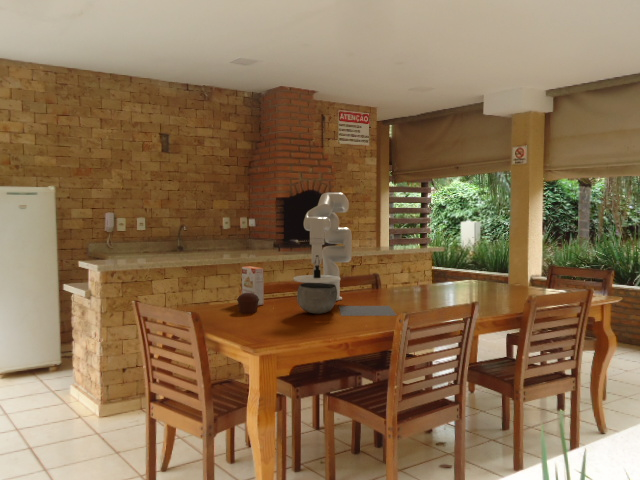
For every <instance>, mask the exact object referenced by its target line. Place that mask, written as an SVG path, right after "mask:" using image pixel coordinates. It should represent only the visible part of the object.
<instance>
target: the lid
mask: <svg viewBox="0 0 640 480" xmlns="http://www.w3.org/2000/svg"><path fill="white" fill-rule="evenodd" d="M312 269H313V271H312V273H313V274H307V275H305V274H303V275H296V276H294V277H293V281H294V282H298V283H330V282H338V281H341V277H338V276H331V275H323V274H322V268H321V267H320V278H314V270H315V268H314V267H313V268H312Z"/></svg>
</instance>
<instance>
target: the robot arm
mask: <svg viewBox="0 0 640 480" xmlns="http://www.w3.org/2000/svg"><path fill="white" fill-rule="evenodd" d="M349 208H350V201H349V200H348V198H347V196H346V195H345V194H344V193H343V192H324V193H322V194H321V196H320V198H319V200H318V203H317V205H316V206H314V207H313V208H311V209H309V210H307V212H306V214H305V215H304V219H303V228H304V230H305V231H307V232H309V245H310V246H311V264H312V265H313V264H314V267H313V268H315V270H314V278H320V268H321V264H322V267H323V274H322V275H331V276H338V277H340V276H341V275H340V273H341V272H340V268H339V266H338V265H337V263H349V262H350V261H352V256H353V243H352V242H353V235H352V231H351V229H350V228H349V227H341V226H340V218H339V216H338V215H337V213H339V214H340V213H347V212H348V211H349ZM325 243H327V244H332V245H328V246H324V247H323V245H325ZM333 244H335V245H333ZM336 244H337V245H336ZM338 244H339V245H338ZM341 245H342V246H341ZM340 278H341V277H340ZM340 281H341V280H340ZM340 281H338V282H330V283H325V284H334V285H335V286H336V288H337V299H336V302H337V301H342V300H343V297H342V296H340V293H341V292H340V289H341V288H340V286H341V285H340V283H341V282H340Z"/></svg>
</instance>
